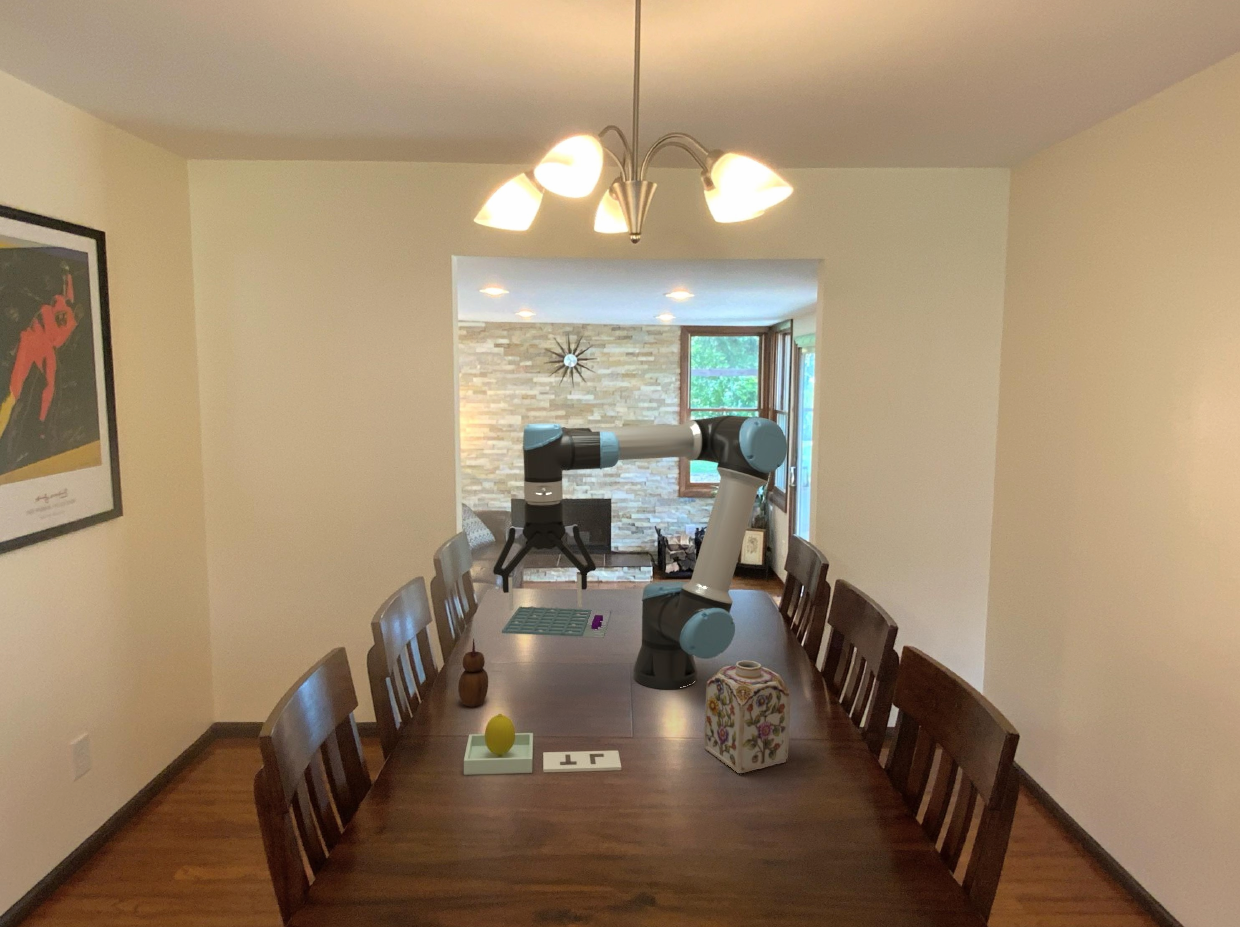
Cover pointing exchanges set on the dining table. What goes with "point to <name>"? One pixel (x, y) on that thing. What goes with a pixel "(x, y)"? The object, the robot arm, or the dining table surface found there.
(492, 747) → the lemon
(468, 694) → the wooden figurine
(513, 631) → the calendar
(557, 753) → the tile
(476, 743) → the dish
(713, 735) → the decorative jar
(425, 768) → the dining table surface
